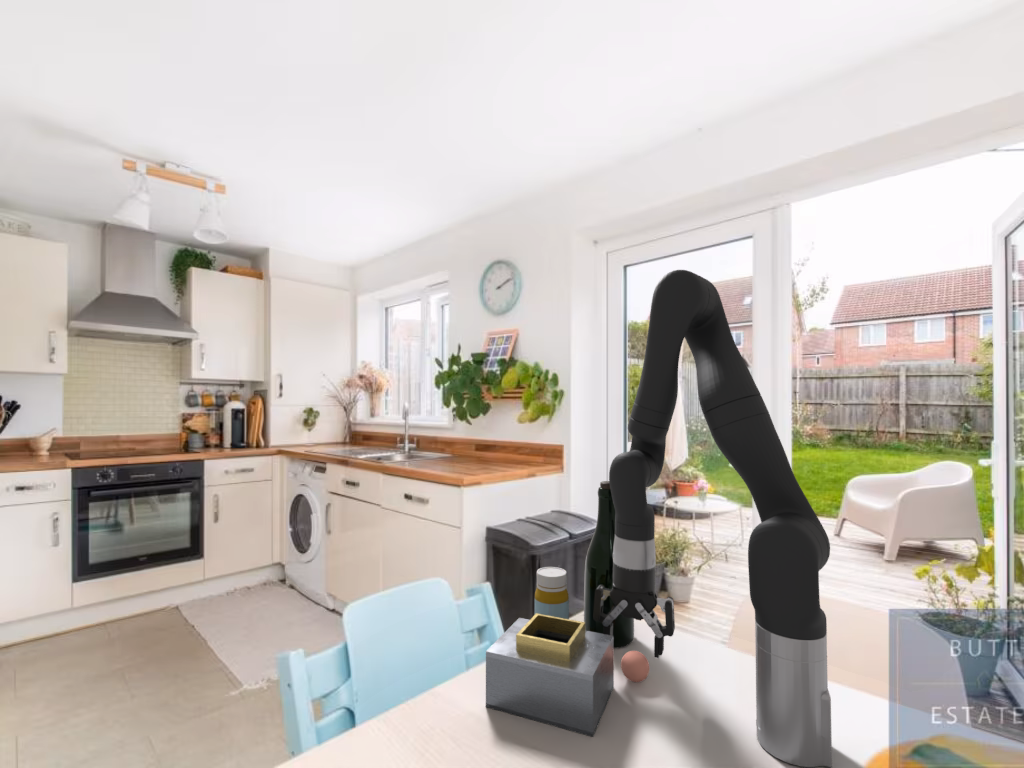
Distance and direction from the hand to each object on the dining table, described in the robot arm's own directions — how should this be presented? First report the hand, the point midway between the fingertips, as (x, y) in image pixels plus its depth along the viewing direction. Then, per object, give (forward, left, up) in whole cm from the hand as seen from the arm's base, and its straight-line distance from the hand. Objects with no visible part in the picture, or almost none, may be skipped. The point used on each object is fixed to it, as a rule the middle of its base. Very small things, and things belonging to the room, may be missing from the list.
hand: (632, 650), depth 91 cm
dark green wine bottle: (+8, -14, -5) cm, 16 cm away
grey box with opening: (+12, +11, -5) cm, 17 cm away
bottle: (+18, -6, -5) cm, 19 cm away
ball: (0, 0, -3) cm, 3 cm away
